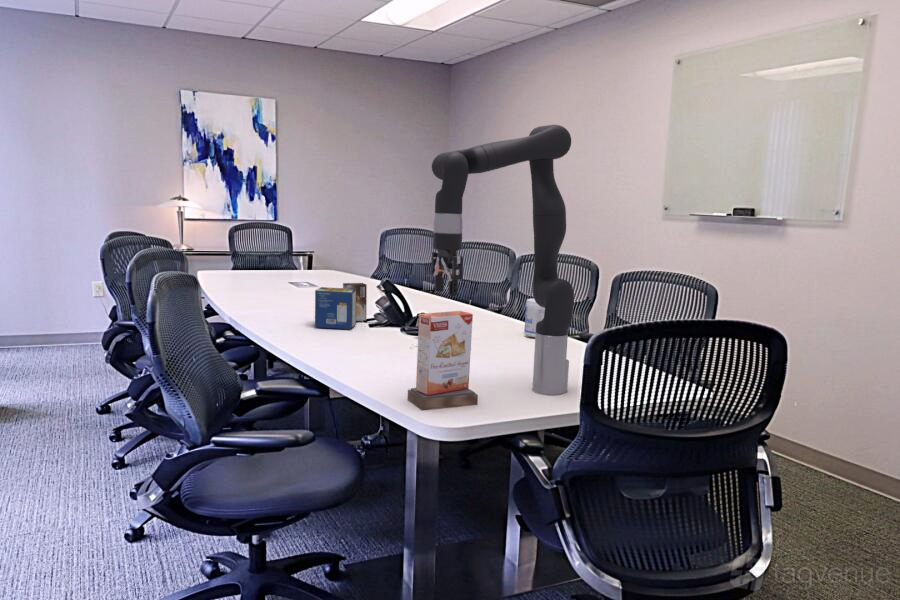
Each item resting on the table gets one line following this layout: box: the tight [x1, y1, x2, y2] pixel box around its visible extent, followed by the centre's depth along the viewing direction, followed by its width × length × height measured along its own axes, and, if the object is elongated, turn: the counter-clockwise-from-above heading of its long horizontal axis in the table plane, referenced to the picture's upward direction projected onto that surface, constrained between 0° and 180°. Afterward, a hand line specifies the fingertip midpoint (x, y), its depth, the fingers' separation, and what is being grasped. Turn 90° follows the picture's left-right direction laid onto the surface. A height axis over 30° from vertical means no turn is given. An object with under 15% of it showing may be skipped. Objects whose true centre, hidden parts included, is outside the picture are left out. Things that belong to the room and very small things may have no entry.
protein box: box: [314, 286, 357, 330], centre depth 284 cm, size 10×15×16 cm
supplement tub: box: [523, 298, 545, 338], centre depth 280 cm, size 10×10×15 cm
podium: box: [407, 387, 479, 411], centre depth 183 cm, size 16×10×4 cm, turn 116°
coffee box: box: [342, 282, 368, 322], centre depth 300 cm, size 9×6×16 cm
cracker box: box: [415, 310, 474, 395], centre depth 181 cm, size 14×6×21 cm, turn 128°
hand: (445, 293), depth 178 cm, fingers open, 8 cm apart
